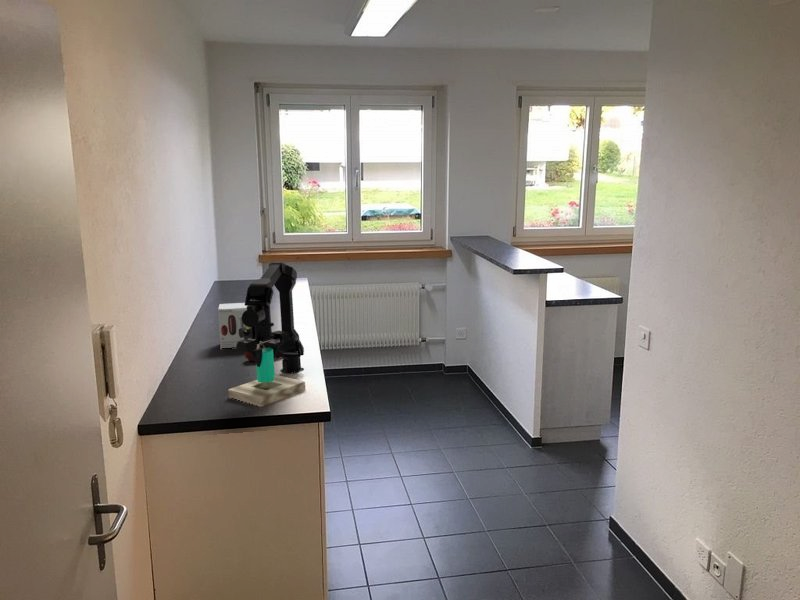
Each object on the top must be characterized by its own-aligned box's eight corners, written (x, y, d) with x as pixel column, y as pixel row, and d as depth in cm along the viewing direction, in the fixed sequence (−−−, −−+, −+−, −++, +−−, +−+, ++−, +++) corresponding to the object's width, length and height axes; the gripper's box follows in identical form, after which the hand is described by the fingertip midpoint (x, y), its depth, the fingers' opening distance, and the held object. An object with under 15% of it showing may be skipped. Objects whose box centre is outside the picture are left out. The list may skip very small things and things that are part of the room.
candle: (276, 376, 223) (274, 343, 221) (273, 382, 217) (271, 347, 215) (258, 377, 223) (256, 343, 221) (255, 382, 217) (253, 348, 215)
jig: (273, 382, 234) (273, 374, 233) (305, 389, 224) (304, 381, 223) (228, 398, 218) (228, 389, 217) (260, 406, 208) (260, 397, 208)
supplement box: (220, 350, 281) (216, 309, 278) (221, 342, 294) (218, 303, 290) (260, 347, 284) (258, 306, 281) (260, 340, 297) (258, 301, 294)
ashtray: (285, 362, 260) (284, 350, 259) (244, 364, 259) (243, 352, 258) (289, 350, 277) (289, 339, 276) (251, 352, 276) (250, 341, 275)
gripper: (267, 312, 228) (270, 355, 231) (223, 323, 214) (227, 368, 217) (289, 316, 222) (291, 360, 225) (246, 327, 207) (249, 374, 210)
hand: (265, 365), depth 219 cm, fingers closed on candle, 5 cm apart
